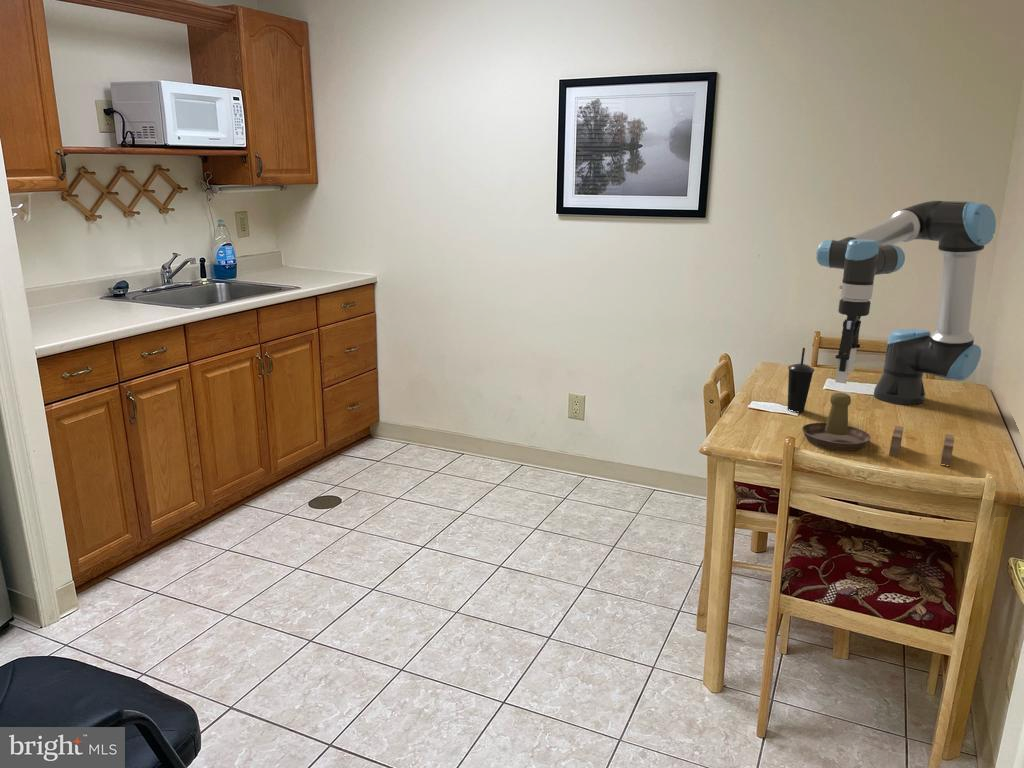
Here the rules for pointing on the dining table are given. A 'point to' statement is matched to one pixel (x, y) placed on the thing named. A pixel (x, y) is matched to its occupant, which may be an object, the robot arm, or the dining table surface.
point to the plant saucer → (836, 437)
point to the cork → (838, 414)
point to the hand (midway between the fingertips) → (844, 376)
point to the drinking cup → (799, 384)
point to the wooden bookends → (945, 452)
